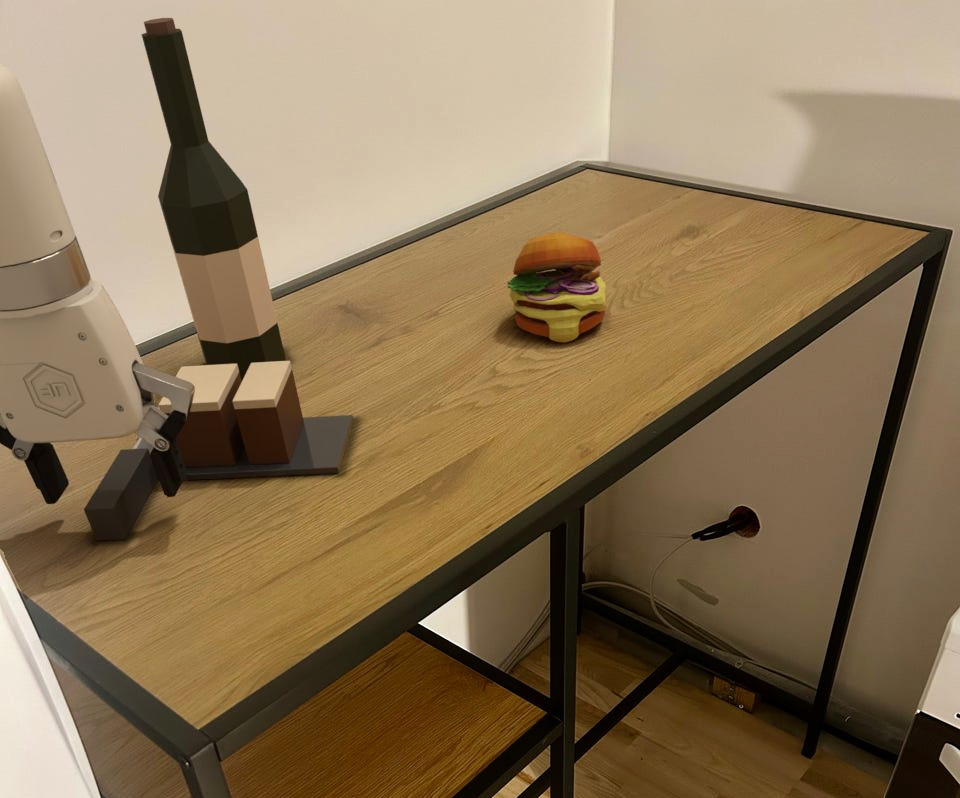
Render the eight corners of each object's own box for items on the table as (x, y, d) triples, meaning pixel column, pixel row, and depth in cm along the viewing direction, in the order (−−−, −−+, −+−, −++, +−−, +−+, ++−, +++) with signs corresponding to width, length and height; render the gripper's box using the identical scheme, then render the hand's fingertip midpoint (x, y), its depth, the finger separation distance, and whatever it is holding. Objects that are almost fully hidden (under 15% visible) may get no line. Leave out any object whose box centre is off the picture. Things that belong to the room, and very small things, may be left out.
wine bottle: (278, 380, 94) (195, 25, 74) (196, 385, 95) (92, 34, 75) (293, 344, 101) (219, 7, 81) (216, 349, 101) (124, 16, 81)
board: (166, 481, 81) (164, 475, 81) (194, 428, 88) (192, 422, 88) (338, 473, 80) (337, 467, 80) (353, 420, 87) (352, 414, 87)
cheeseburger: (513, 349, 95) (504, 242, 90) (509, 331, 104) (501, 233, 100) (614, 339, 95) (611, 231, 90) (602, 321, 104) (598, 222, 99)
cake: (178, 468, 82) (157, 404, 78) (200, 427, 87) (181, 366, 83) (235, 465, 81) (217, 401, 77) (253, 425, 87) (237, 363, 83)
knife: (125, 539, 75) (113, 508, 73) (96, 541, 75) (83, 509, 73) (187, 426, 89) (177, 397, 87) (162, 427, 89) (152, 398, 87)
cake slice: (249, 465, 81) (231, 400, 77) (266, 424, 86) (250, 362, 82) (289, 463, 81) (274, 398, 77) (304, 422, 86) (290, 360, 82)
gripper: (-119, 307, 62) (-7, 524, 74) (135, 287, 61) (210, 511, 72) (-65, 265, 68) (31, 472, 79) (168, 245, 66) (233, 460, 78)
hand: (116, 491), depth 76 cm, fingers open, 9 cm apart
